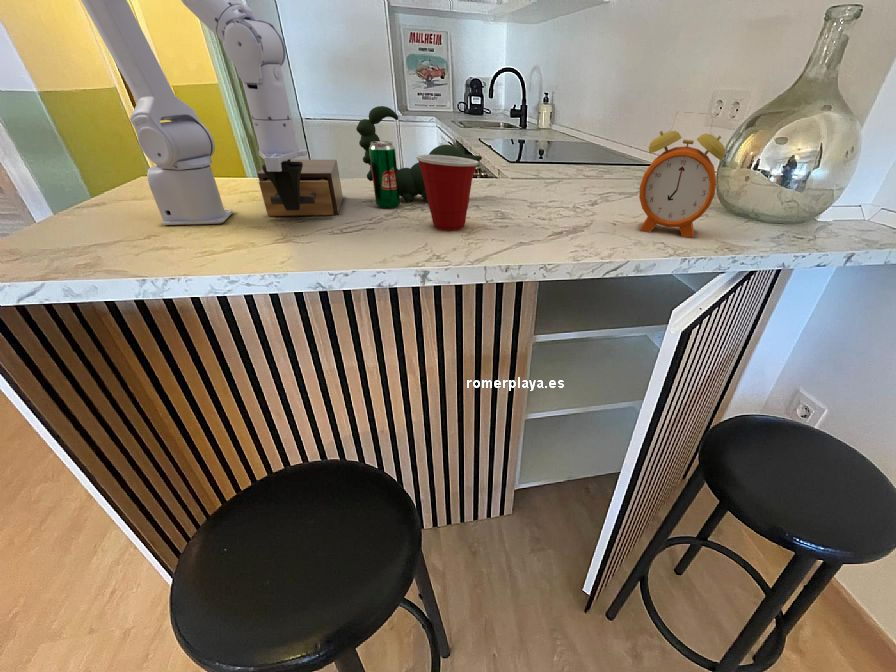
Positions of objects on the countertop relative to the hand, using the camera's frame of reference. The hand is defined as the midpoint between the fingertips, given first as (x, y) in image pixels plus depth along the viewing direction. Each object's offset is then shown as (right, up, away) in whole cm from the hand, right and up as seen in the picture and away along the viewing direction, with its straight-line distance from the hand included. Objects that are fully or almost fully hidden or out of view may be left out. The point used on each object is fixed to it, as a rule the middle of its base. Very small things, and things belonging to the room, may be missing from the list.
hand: (293, 209), depth 77 cm
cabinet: (-4, +6, +15) cm, 16 cm away
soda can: (+12, +7, +17) cm, 22 cm away
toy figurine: (+19, +11, +23) cm, 32 cm away
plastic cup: (+26, -1, +7) cm, 27 cm away
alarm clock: (+69, 0, +11) cm, 70 cm away
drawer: (-3, +4, +9) cm, 10 cm away
